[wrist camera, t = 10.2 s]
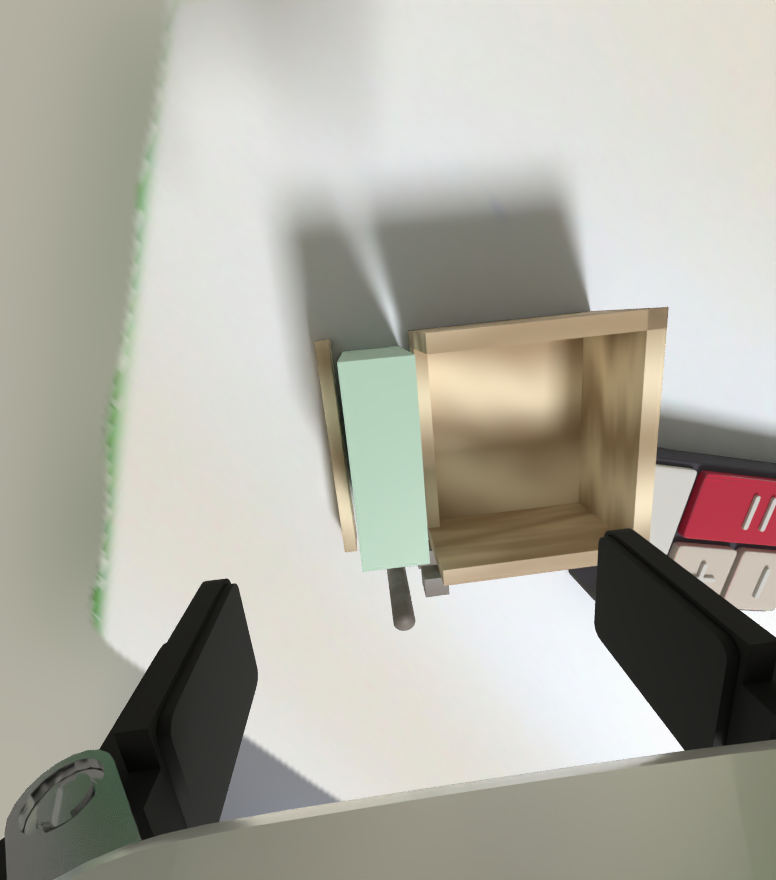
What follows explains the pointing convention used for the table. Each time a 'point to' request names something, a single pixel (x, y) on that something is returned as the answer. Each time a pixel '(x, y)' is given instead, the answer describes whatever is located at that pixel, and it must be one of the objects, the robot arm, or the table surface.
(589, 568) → the calculator
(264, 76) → the table surface
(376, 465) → the green block
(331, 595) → the table surface
